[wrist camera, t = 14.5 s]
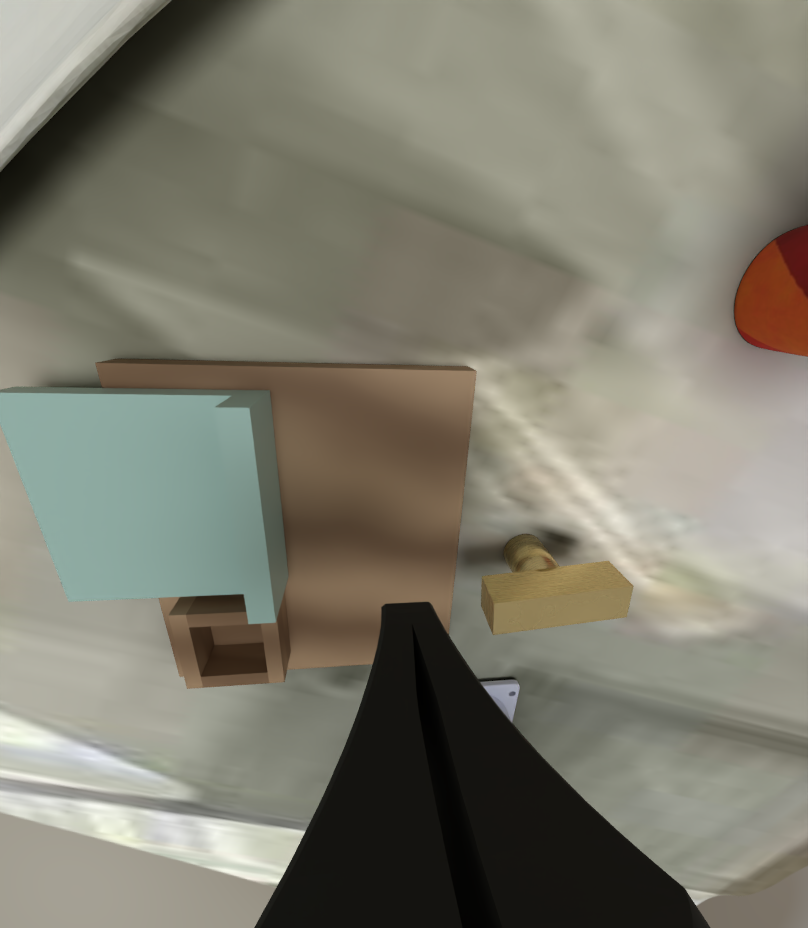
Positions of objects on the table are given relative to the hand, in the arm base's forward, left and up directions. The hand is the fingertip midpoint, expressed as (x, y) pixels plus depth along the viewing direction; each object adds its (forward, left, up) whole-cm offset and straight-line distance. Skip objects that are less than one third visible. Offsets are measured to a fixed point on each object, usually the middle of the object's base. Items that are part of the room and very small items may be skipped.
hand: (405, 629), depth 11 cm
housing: (-3, +4, -10) cm, 12 cm away
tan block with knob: (-5, -9, -10) cm, 14 cm away
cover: (0, +10, -9) cm, 13 cm away
